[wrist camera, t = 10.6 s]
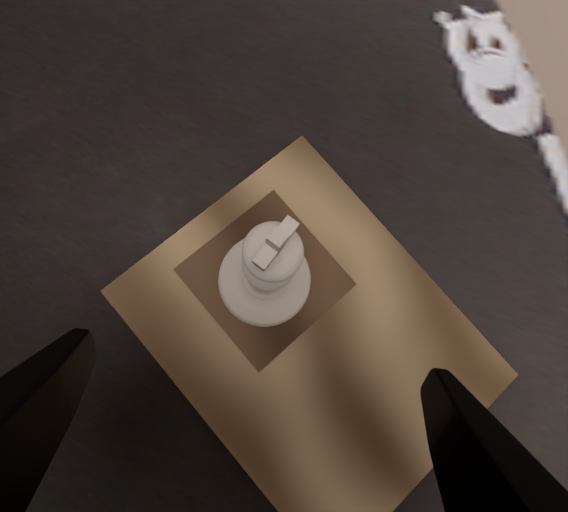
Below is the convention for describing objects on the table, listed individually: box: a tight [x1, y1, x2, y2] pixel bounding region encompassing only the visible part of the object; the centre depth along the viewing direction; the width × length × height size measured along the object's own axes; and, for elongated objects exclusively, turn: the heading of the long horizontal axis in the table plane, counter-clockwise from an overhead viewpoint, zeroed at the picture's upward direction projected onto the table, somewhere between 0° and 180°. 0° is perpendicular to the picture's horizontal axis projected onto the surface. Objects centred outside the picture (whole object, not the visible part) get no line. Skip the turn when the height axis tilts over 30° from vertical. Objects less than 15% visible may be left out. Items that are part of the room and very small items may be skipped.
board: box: [101, 136, 518, 512], centre depth 19 cm, size 14×18×1 cm
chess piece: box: [218, 215, 311, 327], centre depth 15 cm, size 5×5×10 cm
